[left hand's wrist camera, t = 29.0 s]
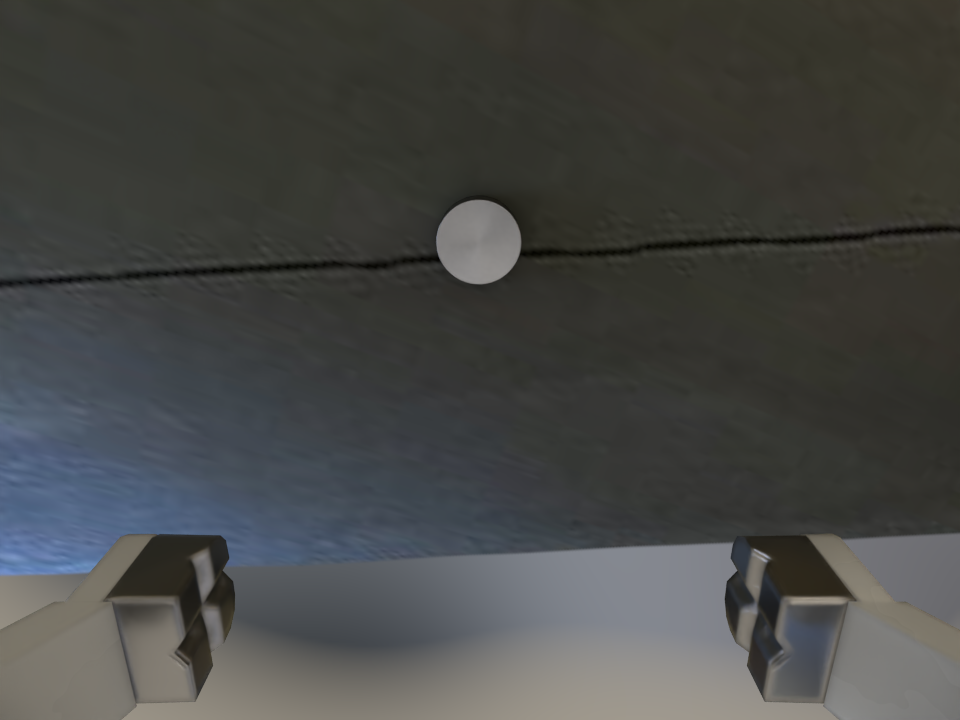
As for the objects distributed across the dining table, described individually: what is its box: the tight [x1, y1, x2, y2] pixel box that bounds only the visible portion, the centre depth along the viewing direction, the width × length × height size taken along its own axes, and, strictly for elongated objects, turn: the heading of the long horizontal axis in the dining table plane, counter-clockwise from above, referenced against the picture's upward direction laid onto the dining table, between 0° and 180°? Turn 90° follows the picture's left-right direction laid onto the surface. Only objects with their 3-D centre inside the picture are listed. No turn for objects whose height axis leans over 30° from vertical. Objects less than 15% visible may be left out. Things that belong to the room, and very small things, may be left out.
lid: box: [436, 196, 521, 284], centre depth 38 cm, size 5×5×2 cm
